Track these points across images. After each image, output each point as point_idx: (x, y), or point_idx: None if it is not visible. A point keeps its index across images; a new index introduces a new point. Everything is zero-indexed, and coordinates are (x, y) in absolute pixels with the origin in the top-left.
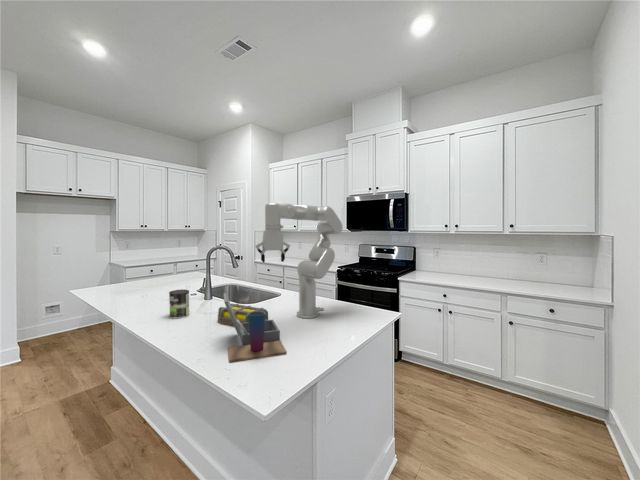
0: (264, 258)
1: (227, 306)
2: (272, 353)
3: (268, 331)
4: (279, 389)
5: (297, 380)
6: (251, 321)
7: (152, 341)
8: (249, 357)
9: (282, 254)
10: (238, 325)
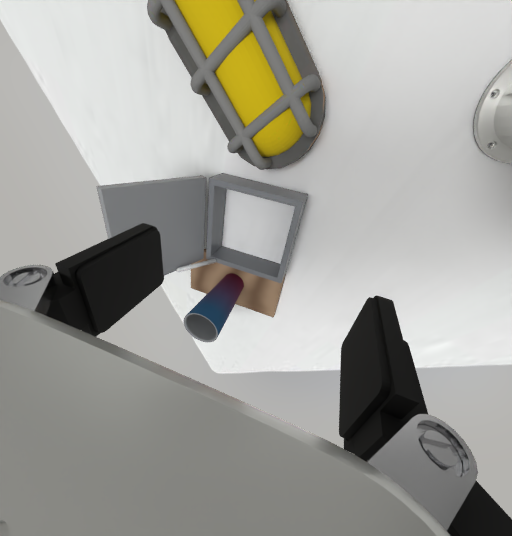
0: (134, 304)
1: None
2: (251, 308)
3: (258, 272)
4: (234, 361)
5: (257, 363)
6: (195, 323)
7: (58, 115)
8: None
9: (342, 434)
10: (198, 223)
